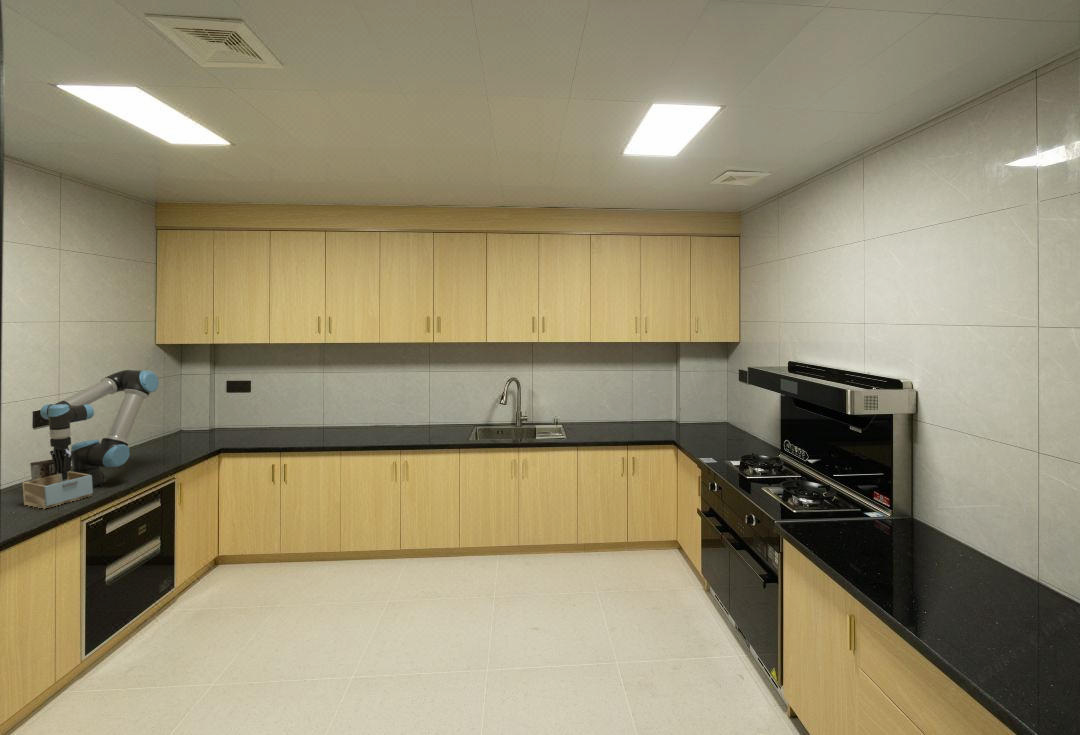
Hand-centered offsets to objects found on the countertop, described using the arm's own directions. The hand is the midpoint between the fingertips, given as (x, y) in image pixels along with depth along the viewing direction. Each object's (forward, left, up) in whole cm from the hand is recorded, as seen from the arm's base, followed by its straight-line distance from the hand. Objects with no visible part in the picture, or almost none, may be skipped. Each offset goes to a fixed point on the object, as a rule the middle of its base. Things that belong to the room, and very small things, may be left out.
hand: (63, 485), depth 272 cm
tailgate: (0, +4, -6) cm, 7 cm away
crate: (0, -4, -8) cm, 9 cm away
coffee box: (-5, -22, -8) cm, 24 cm away
